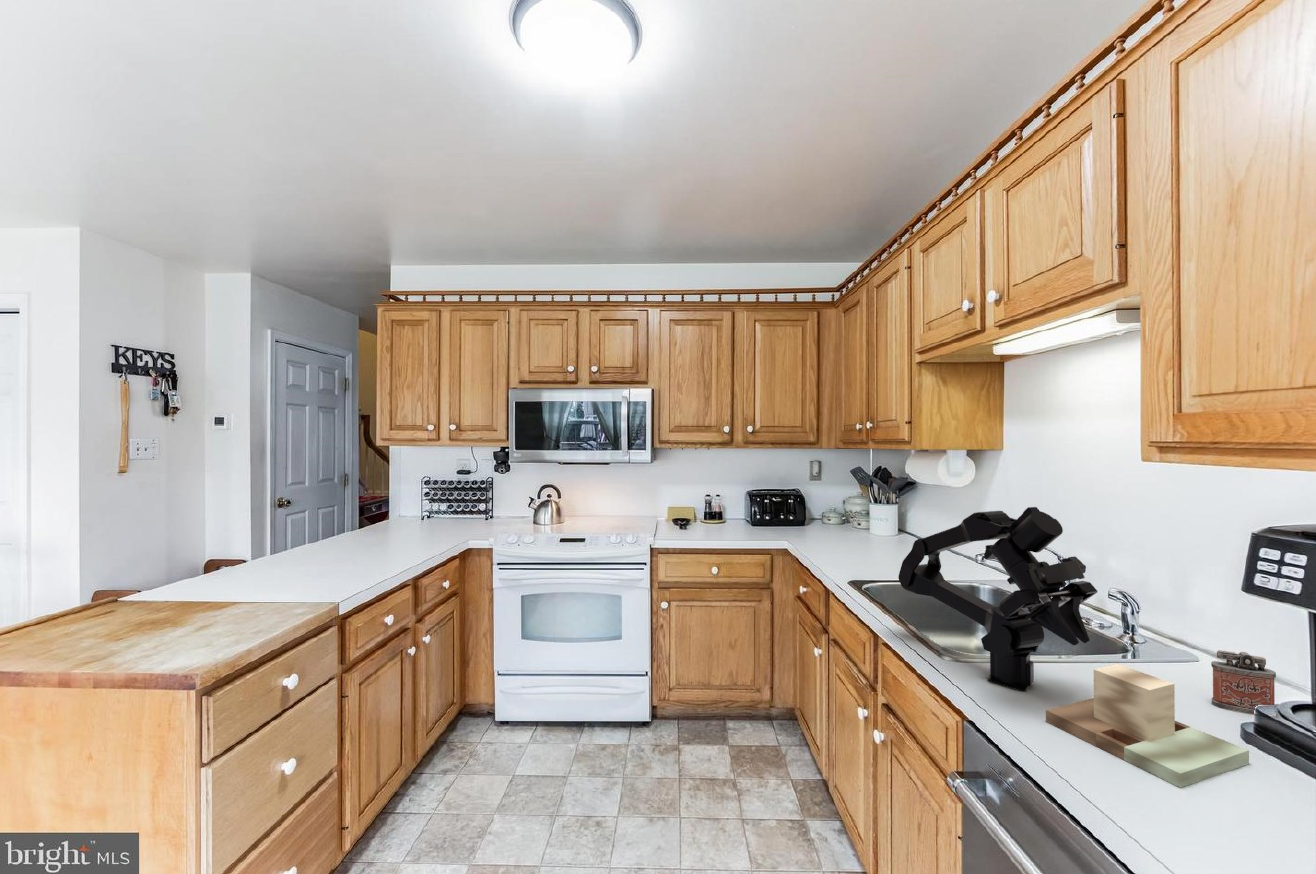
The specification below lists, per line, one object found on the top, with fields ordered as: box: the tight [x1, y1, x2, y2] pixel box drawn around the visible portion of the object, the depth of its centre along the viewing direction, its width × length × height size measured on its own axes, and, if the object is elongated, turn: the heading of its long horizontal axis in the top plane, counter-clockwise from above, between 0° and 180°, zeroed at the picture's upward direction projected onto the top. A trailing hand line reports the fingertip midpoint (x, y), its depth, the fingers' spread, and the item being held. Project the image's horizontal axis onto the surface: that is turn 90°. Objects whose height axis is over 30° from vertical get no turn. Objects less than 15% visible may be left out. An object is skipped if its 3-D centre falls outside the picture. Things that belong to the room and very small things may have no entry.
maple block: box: [1093, 663, 1176, 742], centre depth 90 cm, size 8×6×8 cm
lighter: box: [1210, 649, 1277, 715], centre depth 99 cm, size 8×3×10 cm, turn 59°
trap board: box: [1045, 697, 1250, 788], centre depth 89 cm, size 19×16×2 cm
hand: (1082, 643), depth 97 cm, fingers open, 2 cm apart
